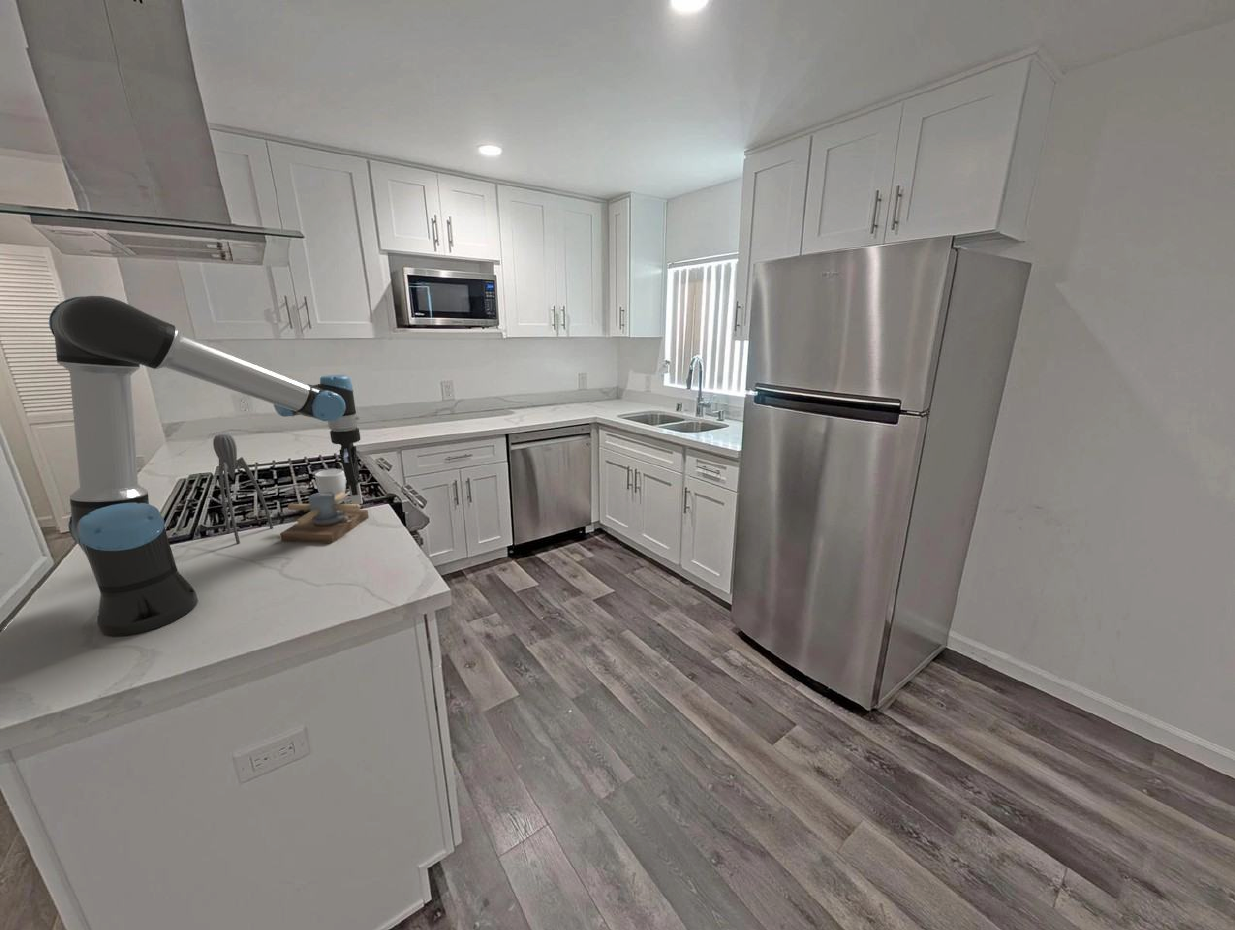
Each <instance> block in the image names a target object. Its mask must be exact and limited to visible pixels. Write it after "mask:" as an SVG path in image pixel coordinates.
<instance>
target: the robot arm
mask: <svg viewBox="0 0 1235 930" xmlns="http://www.w3.org/2000/svg"><path fill="white" fill-rule="evenodd" d="M48 319H49V320H48V326H49V329H50V331H51V335H53V337H54V342H55V343H54V344H55V353H56V354H55V355H56V363H57V364H58V365H59V366H61V367H63V368H64V369H66V370H67V371H68V372H69V380H70V389H71V401H72V403H71V404H72V412H73V414H72V416H73V423H74V424H73V425H74V426H73V427H74V435H75V436H74V437H75V445H76V446H75V447H76V457H77V458H76V459H77V469H78V479H79V488H78V489H76V491H74V492H72V493H71V494H70V495H69V502H70V505H69V506H70V514H71V515H70V517H69V520H68V530H69V534H70V537H71V538H72V540H73V541H74V542H75V543H77V545H79V547H80V549H81V550H82V551H83V553H84V555H86V558H87V560H88V563H89V565H90V569H91V570H92V573H93V577H94V578H95V582H96V584H97V587H98V589H99V593H100V596H99V605H98V615H97V619H96V623H97V626H98V628H99V629H98V630H99V632H100V633H101V634H102V635H104V636H109V637H123V636H131V635H132V636H133V635H136V634H140V633H144V632H149V631H151V630H152V631H153V630H154V629H157V628H158V629H159V628H160V627H163V626H165V625H168V624H169V623H172V622H174V621H176V620H178V619H180V618H182V617H184V616H185V615H187V614H188V613H190V612H191V611H192V610H194V608H195V607H197V604H198V601H199V600H198V596H197V593H196V589H194V587H192V586H191V585H190V583H189V582H188V581H187V580H186V579H185V578H184V576H183V575H182V574H181V573H180V572H179V570H178V567H177V564H176V559H175V557H174V554H173V552H172V551H173V550H172V548H171V547H172V546H171V544H170V541H169V538H168V537H169V536H168V534H167V531H166V528H165V520H164V517H163V516H162V515H161V512H160V510H159V509H158V508H157V507H156V506H154V505H152V504H150V499H149V490H148V489H146V488H144V487H143V486H141V485H140V484H139V479H138V478H139V477H138V463H137V453H136V452H137V450H136V440H135V439H136V436H135V422H134V421H135V420H134V406H133V396H132V395H133V393H132V379H131V376H132V375H133V374H134V373H135V372H136V371H138V370H140V367H141V366H145V367H148V368H151V369H153V370H158V369H162V368H166V369H169V370H172V371H175V372H178V373H180V374H181V373H182V374H184V375H187V376H190V377H193V378H196V379H198V380H201V381H205V382H208V383H211V384H214V385H217V386H219V387H222V388H226V389H228V390H232V391H234V392H237V393H240V394H243V395H246V396H250V397H252V398H255V399H258V400H261V401H263V402H266V403H270V404H273V407H274V410H275V411H276V413H277V414H278V415H279V416H280V417H284V418H285V417H286V418H287V417H293V418H294V417H295V416H296V417H297V416H304V417H307V418H312V419H315V420H318V421H319V420H320V421H322V422H327V425H328V429H329V430H330V432H329V434H330V440H331V443H332V444H333V445H340V449H339V456H341V457H340V461H341V464H342V470H343V472H344V476H345V477H346V484H345V485H346V487H348V491H350V494H349V495H350V499H351V500H350V501H351V504H359V505H363V497H362V491H361V484H360V483H361V482H362V479H361V478H360V477H361V476H360V473H359V466H358V456H357V446H354V443H358V442H360V440H361V435H360V433H361V432H360V429H359V428H358V426H359V424H358V421H359V420H360V417H359V416H357V410H356V405H355V397H354V389H353V384H352V381H351V378H350V377H349V376H348V375H345V374H331V375H322V376H321V377H320V378H319V380H320V382H319V383H317V384H309V383H307V382H305V381H302V380H300V379H297V378H294V377H292V376H289V375H287V374H284V373H282V372H280V371H277V370H274V369H272V368H270V367H267V366H264V365H262V364H259V363H258V362H257V363H256V362H254V361H252V360H249V359H247V358H244V357H242V356H239V355H237V354H235V353H231V352H230V351H229V352H228V351H226V350H224V349H222V348H218V347H216V346H214V345H210V344H209V343H205V342H203V341H202V340H198V339H196V338H193V337H190V336H188V335H185V334H184V333H181V331H180V330H179V328H178V327H177V325H173V324H172V323H169V322H166V321H164V320H163V319H159V318H157V317H155V316H153V315H151V314H149V313H146V312H145V311H142V310H140V309H139V308H136V307H135V306H132V305H131V304H128V303H126V302H123V301H121V300H120V299H116V298H113V297H110V296H103V295H87V296H75V297H71V298H68V299H65V300H62V301H61V302H60V303H57V304H56V306H55V307H54V308H53V310H52V311H51V313H50V314H49V318H48Z"/></svg>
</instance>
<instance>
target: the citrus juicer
mask: <svg viewBox="0 0 1235 930" xmlns="http://www.w3.org/2000/svg"><path fill="white" fill-rule="evenodd" d="M212 442H213V443H212V444H213V449H214V452H215V455H216V457H217V458H218V459H217V460H218V477H219V478H218V480H219V488H220V489H219V490H220V497H221V505H222V510H223V516H224V522H225V526H226V530H227V533H228V534H231V533H232V530H231V525H230V520H229V514H230V519H231V523H232V529H233V533H234V538H235V542H236V545H239V544H241V541H240V535H239V532H238V527H237V523H236V518H235V513H234V512H235V511H234V509H233V502H232V497H231V492H230V491H231V490H230V483H229V476H230V478H231V479H232V480H233V481H234V480H235V474H236V468H238V467H240V466H241V467H242V468H243V470H244V471H245V472H246V474H247V476H248V477H249V479H250V481H251V483H252V485H253V487H254V488H255V491H256V493H257V495H258V498H259V500H260V503H261V505H262V507H263V509H264V513H265V515H266V516H265V517H266V518H267V522H268V526H269V528H270V529H274V525H273V520H272V517H271V513H270V511H269V509H268V506H267V503H266V500H265V498H264V495H263V493H262V490H261V489H260V487H259V484H258V483H257V480H256V478H255V477H254V475H253V472H252V470H251V468H250V467H249V466H248V464H247V462H246V460H245V459H244V457H243V456H241V457H240V458H238V449H237V444H236V441H235V439H234V437H233V436H232V435H231V434H228V433H219V434H217V435H215V436H214V438H213V441H212ZM237 458H238V459H237ZM228 475H229V476H228ZM224 483H225V484H224ZM224 485H225V486H224ZM224 487H225V488H224ZM225 490H226V491H225ZM225 492H226V496H225ZM226 497H227V503H228V509H229V514H228V509H227V504H226Z"/></svg>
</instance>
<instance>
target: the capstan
mask: <svg viewBox="0 0 1235 930" xmlns="http://www.w3.org/2000/svg"><path fill="white" fill-rule="evenodd" d="M345 494H346V492H345V493H343V492H341V493H340V494H338V495H336V496H335V497H334V493H333V492H320V493H319V492H316V493H313V494H311V495H309V496H308V497H307V498H308V502H309V503H289V504H288V505H287V509H288V511H309V512H307V513H305V514H303V515H302V516H300V517H299V518H298V519H297V523H299V524H303V523H305V522H306V521H308V520H310V519H311V518H312V521H313V524H314V525H316V526H327V525H333V524H336V523H339V522H341V521H343V518H344V517H345V512H343V511H339V510H361V504H352V503H342V504H336V502H338V501H340V500H341V499H343V498H344V499H345V498H346V497H347V496H346V495H345ZM345 496H346V497H345ZM344 499H343V500H344Z"/></svg>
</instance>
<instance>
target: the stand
mask: <svg viewBox="0 0 1235 930" xmlns="http://www.w3.org/2000/svg"><path fill="white" fill-rule="evenodd" d="M339 511H343V512H345V517H344V518H343V521H341V522H339V523H336V524H333V525H327V526H316V525H314V524H313V521H312V518H311V519H310V520H308V521H306V522H305V523H303V524H299V523H298V522H297V523H295V524H293V525H292V526H290V527H288V528H287V529H285V530H283V531H282V532H280V533H279V536H280V540H281V542H285V543H286V542H287V543H288V542H291V543H293V542H294V543H318V544H319V543H323V544H325V543H327V544H333V543H335V542H336V541H338V540H340V539H341V538H342V537H344V535H346V534H347V533H349V532H350V531H352V530H353V529H354V528H356V527H357V526H359V525H360V524H362V523H363V522H364V521H365V522H366V520H367V519H369V511H368V509H359V510H339Z"/></svg>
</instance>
